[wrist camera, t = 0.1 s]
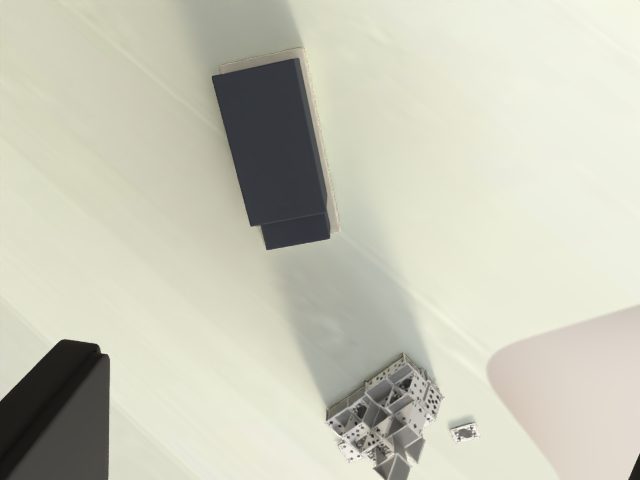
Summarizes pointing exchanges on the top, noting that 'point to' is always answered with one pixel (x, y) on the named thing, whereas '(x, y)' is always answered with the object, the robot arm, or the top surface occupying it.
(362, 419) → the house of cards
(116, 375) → the top surface
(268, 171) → the stepped dark grey block
